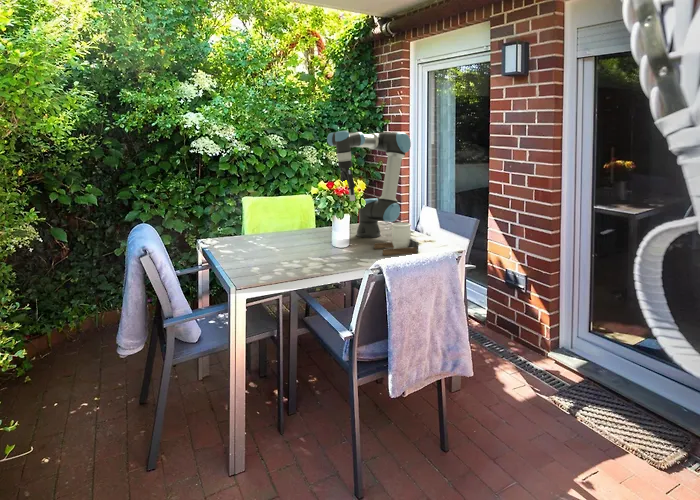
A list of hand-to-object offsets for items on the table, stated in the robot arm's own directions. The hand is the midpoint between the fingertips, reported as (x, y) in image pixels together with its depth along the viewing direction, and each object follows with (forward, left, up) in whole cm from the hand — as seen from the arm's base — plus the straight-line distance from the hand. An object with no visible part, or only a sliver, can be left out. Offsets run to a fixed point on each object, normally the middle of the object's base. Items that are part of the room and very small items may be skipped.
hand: (349, 199), depth 285 cm
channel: (+10, +24, -28) cm, 39 cm away
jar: (+11, +27, -29) cm, 41 cm away
